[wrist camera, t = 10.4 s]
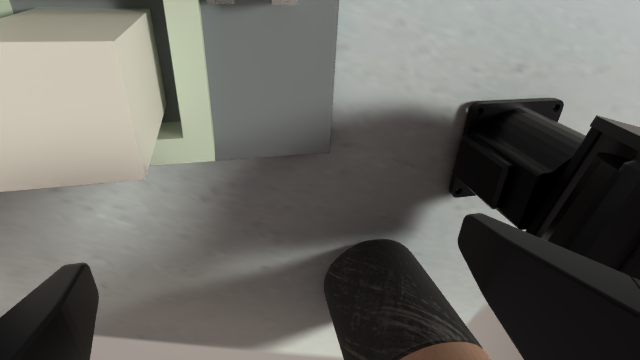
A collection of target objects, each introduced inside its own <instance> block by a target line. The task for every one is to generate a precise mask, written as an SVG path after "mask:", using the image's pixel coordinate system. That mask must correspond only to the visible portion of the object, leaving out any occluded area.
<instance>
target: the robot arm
mask: <svg viewBox="0 0 640 360" xmlns="http://www.w3.org/2000/svg"><path fill="white" fill-rule="evenodd" d="M554 106H555V107H554ZM563 106H564V104H563V102H562V101H561V100H559V99H556V98H548V99H525V100H502V101H479V102H475V103H473V104H472V105H471V106H470V108H469V111H468V115H467V119H466V123H465V127H464V131H463V135H462V139H461V142H460V146H459V150H458V154H457V158H456V162H455V166H454V170H453V175H452V179H451V183H450V187H449V192H450V194H451V195H452V196H454V197H466V196H475V195H477V196H478V197H479V198H480V199H481V200H482V201H484V202H485V203H486V204H487V205H488V206H489V207H490V208H492V209H497V210H498V211H499V212H500V213H501V214H502V215H503V216H505V217H506V218H507V219H508V220H509V221H510V222H511V223H512V224H514V225H515V226H516V227H517V228H518V229H517V228H515V227H513V226H510V225H508V224H506V223H503V222H501V221H499V220H496V219H494V218H491V217H489V216H487V215H484V214H481V213H477V214H469V215H467V216H465V218H464V219H463V223H462V226H461V230H460V233H459V237H458V246H459V249H460V251H461V253H462V255H463V257H464V259H465V261H466V263H467V265H468V267H469V269H470V271H471V273H472V275H473V277H474V279H475V281H476V282H477V284H478V286H479V288H480V290H481V292H482V294H483V296H484V298H485V299H486V301H487V302H488V304H489V306H490V307H491V309H492V310H493V312H494V313H495V315H496V317H497V318H498V320H499V321H500V323H501V324H502V326H503V327H504V329H505V331H506V332H507V334H508V335H509V337H510V338H511V340H512V341H513V343H514V345H515V346H516V348H517V349H518V351H519V353H520V354H521V356H522V357H523V359H524V360H640V127H637V126H633V125H629V124H626V123H622V122H619V121H615V120H611V119H608V118H604V117H600V116H597V115H596V117H595V118H594V120H593V122H592V123H591V125H590V126H591V129H590V130H589V132H588V133H587V135H586V136H585V135H583V134H581V133H579V132H577V131H575V130H573V129H571V128H568V127H566V126H564V125H562V124H560V123H558V120H559V117H560V115H561V112H562V109H563ZM479 108H480V110H479V112H478V113H476V112H477V110H478V109H479ZM458 188H459V189H458ZM457 189H458V190H457ZM456 190H457V191H456ZM524 229H526V231H522V230H524ZM98 299H99V296H98V290H97V287H96V284H95V281H94V278H93V275H92V273H91V270H90V267H89V266H88V264H86V263H76V264H68V265H64V266H63V267H61V268H60V269H59V270H57V271H56V272H55V273H54V274H53V275H51V276H50V277H49V278H48V279H47V280H45V281H44V282H43V283H42V284H41V285H39V286H38V287H37V288H36V289H34V290H33V291H32V292H31V293H30V294H28V295H27V296H26V297H25V298H24V299H22V300H21V301H20V302H19V303H18V304H16V305H15V306H14V307H13V308H11V309H10V310H9V311H8V312H7V313H5V314H4V315H3V316H2V317H1V318H0V360H90V354H91V348H92V341H93V334H94V327H95V321H96V314H97V307H98Z"/></svg>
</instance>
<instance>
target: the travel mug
mask: <svg viewBox="0 0 640 360" xmlns="http://www.w3.org/2000/svg"><path fill="white" fill-rule="evenodd" d="M324 292H325V297H326V301H327V304H328V308H329V311H330V314H331V318H332V321H333V324H334V328H335V331H336V334H337V338H338V341H339V344H340V348H341V351H342V354H343V358H344V360H491V359H490V358H489V356H488V355H487V353H486V352H485V351H484V350H483V348H482V346H481V345H480V344H479V342H478V341H477V340H476V338H475V337H474V336H473V334H472V333H471V332H470V331H469V329H468V328H467V326H466V325H465V324H464V322H463V321H462V320H461V318H460V317H459V316H458V314H457V313H456V312H455V310H454V309H453V308H452V306H451V305H450V303H449V302H448V301H447V299H446V298H445V297H444V295H443V294H442V293H441V291H440V290H439V289H438V287H437V286H436V285H435V283H434V282H433V281H432V279H431V278H430V277H429V275H428V274H427V273H426V271H425V270H424V269H423V267H422V266H421V265H420V263H419V262H418V261H417V259H416V258H415V257H414V255H413V254H412V253H411V252H410V251H409V250H408V249H407V248H406V247H405V246H404V245H402V244H400V243H398V242H395V241H392V240H383V239H382V240H372V241H368V242H364V243H361V244H359V245H356V246H354V247H352V248H351V249H349V250H347V251H346V252H345V253H343V254H342V255H341V256H340V257H339V258H337V259H336V261H335V262H334V263H333V264H332V265H331V267H330V268H329V270H328V272H327V274H326V277H325V281H324Z"/></svg>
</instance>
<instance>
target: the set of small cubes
mask: <svg viewBox="0 0 640 360" xmlns="http://www.w3.org/2000/svg"><path fill="white" fill-rule="evenodd" d="M206 1H207V3H213V4H234V0H206ZM266 1H267V2H269V3H270V4H271V5H297V0H266Z"/></svg>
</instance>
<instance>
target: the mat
mask: <svg viewBox="0 0 640 360" xmlns="http://www.w3.org/2000/svg"><path fill="white" fill-rule="evenodd" d="M9 1H10V4H11V7H12V10H13V13H14V14H17V13H20V12H23V11H27V10H30V9H33V8H37V7H47V8H130V9H150V11H151V17H152V23H153V28H154V34H155V40H156V46H157V52H158V57H159V63H160V69H161V75H162V81H163V87H164V92H165V98H166V108H165V111H164V115H163V119H162V122H180V121H181V118H180V111H179V104H178V98H177V91H176V84H175V78H174V71H173V64H172V57H171V51H170V44H169V37H168V30H167V24H166V17H165V10H164V4H163V0H9ZM338 9H339V0H297V5H271V4H270V3H269V2H267V1H266V0H234V4H213V3H207V1H206V0H200V10H201V19H202V29H203V38H204V48H205V57H206V67H207V76H208V86H209V96H210V105H211V115H212V124H213V134H214V144H215V161H219V160H233V159H247V158H260V157H274V156H288V155H302V154H316V153H329V152H330V137H331V121H332V105H333V89H334V73H335V57H336V41H337V25H338Z"/></svg>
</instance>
